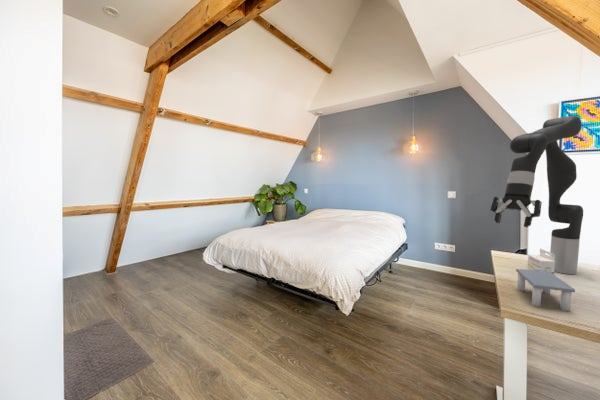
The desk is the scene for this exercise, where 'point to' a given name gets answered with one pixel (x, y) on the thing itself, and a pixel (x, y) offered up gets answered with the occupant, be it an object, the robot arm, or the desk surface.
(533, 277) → the grey toy table
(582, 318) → the desk surface
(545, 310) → the desk surface
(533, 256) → the ink cartridge box
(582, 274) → the desk surface
